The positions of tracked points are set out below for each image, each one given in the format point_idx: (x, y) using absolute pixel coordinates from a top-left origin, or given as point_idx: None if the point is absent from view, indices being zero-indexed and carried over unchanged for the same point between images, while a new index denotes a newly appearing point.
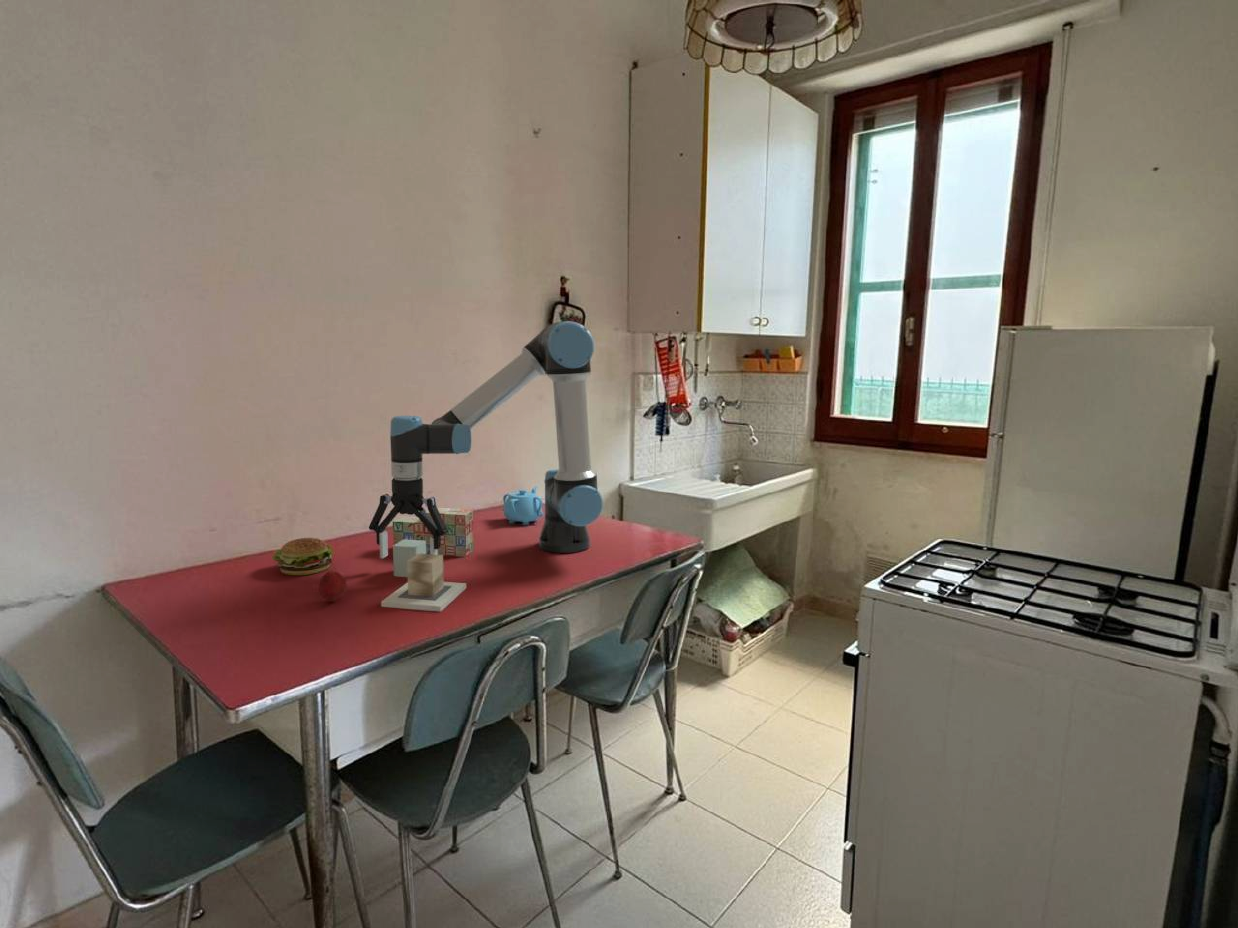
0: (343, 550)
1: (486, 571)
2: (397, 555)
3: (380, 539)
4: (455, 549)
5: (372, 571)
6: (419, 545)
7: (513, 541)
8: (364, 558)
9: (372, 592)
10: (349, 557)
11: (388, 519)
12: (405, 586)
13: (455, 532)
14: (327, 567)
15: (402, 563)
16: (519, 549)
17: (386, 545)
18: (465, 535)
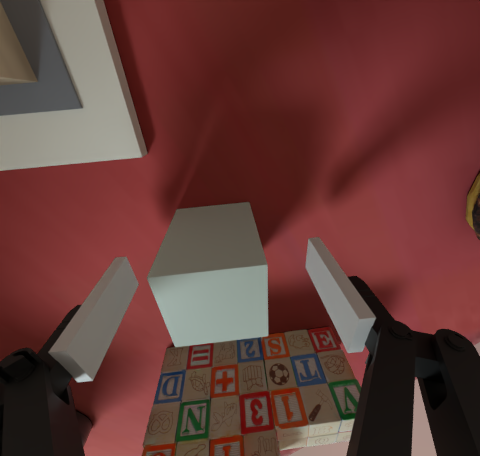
0: (445, 305)
1: (40, 299)
2: (240, 239)
3: (352, 291)
4: (187, 361)
5: (329, 215)
6: (160, 306)
7: (143, 412)
8: (383, 283)
9: (226, 3)
10: (421, 278)
11: (372, 447)
12: (97, 62)
13: (179, 413)
14: (471, 193)
15: (219, 225)
16: (99, 395)
17: (320, 288)
18: (152, 408)
